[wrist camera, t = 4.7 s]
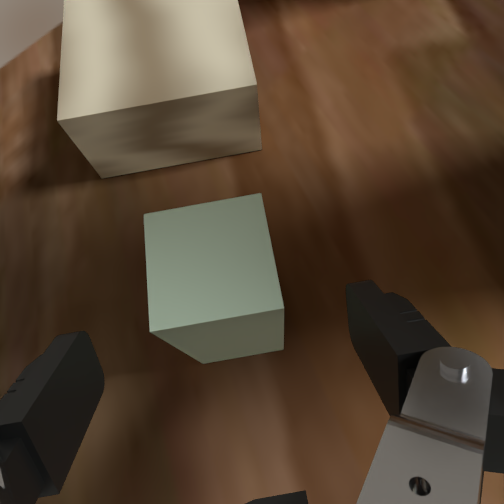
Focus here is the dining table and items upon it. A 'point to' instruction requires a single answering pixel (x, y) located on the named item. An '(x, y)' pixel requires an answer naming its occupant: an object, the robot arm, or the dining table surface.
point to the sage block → (214, 280)
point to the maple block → (156, 83)
